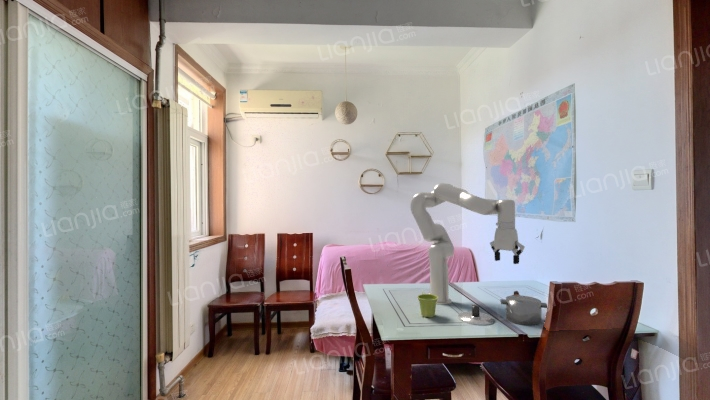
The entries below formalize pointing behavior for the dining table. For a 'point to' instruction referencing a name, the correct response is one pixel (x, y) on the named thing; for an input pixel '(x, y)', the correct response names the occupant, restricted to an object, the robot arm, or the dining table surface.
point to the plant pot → (427, 304)
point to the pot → (523, 310)
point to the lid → (476, 317)
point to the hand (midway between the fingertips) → (506, 262)
